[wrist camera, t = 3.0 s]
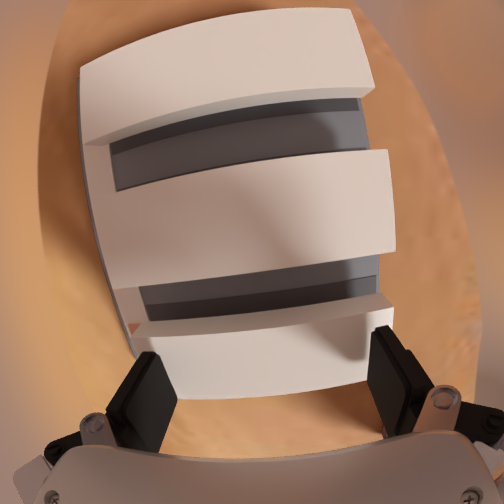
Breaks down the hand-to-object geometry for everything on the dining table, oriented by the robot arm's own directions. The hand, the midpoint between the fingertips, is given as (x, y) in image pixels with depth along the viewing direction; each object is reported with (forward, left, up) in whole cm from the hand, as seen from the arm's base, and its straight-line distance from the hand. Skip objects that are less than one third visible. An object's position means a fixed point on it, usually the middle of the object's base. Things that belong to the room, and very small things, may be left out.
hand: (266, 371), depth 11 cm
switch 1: (+11, +7, -2) cm, 13 cm away
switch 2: (0, 0, -2) cm, 2 cm away
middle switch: (+5, +3, -2) cm, 7 cm away
